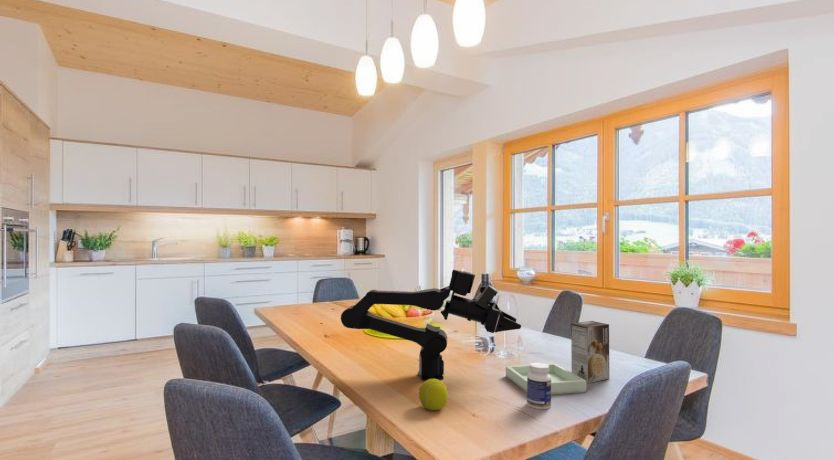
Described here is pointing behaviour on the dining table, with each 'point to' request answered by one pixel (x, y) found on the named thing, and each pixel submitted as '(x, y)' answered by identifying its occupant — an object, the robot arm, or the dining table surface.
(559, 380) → the tray
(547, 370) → the pill bottle
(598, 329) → the coffee box
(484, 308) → the robot arm
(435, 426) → the dining table surface
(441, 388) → the tennis ball
